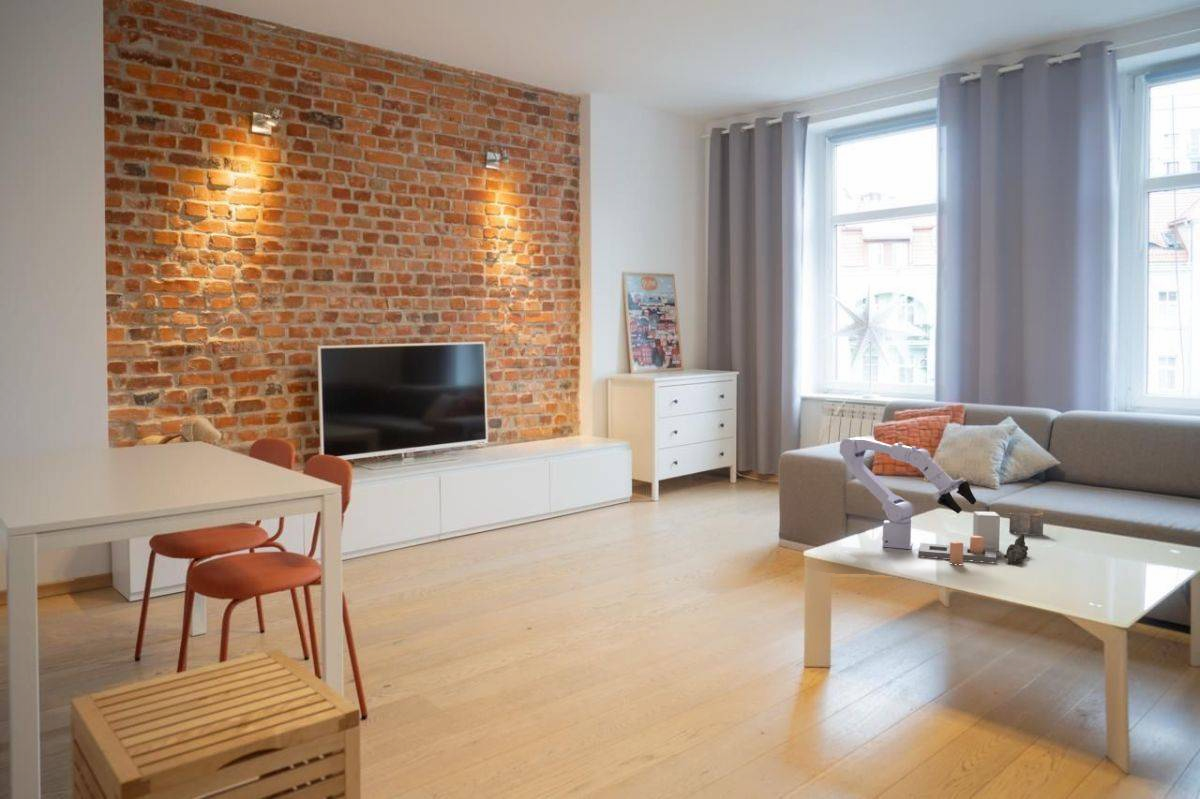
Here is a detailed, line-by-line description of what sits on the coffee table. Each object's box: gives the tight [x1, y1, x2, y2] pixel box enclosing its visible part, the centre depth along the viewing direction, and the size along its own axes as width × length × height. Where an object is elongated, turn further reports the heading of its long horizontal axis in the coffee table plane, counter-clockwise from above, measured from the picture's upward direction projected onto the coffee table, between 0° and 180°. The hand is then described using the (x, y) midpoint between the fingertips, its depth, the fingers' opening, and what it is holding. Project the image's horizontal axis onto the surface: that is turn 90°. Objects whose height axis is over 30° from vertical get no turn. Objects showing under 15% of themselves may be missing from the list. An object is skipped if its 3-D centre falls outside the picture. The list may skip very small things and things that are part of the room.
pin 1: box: [949, 541, 964, 566], centre depth 290 cm, size 4×4×7 cm
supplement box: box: [972, 511, 1001, 552], centre depth 309 cm, size 7×7×13 cm
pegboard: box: [917, 542, 997, 564], centre depth 300 cm, size 24×12×2 cm, turn 67°
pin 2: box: [969, 535, 983, 554], centre depth 297 cm, size 4×4×7 cm
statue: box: [1003, 533, 1029, 565], centre depth 296 cm, size 6×6×20 cm
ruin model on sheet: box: [1008, 509, 1044, 536], centre depth 332 cm, size 11×3×10 cm, turn 63°
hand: (967, 507), depth 296 cm, fingers open, 7 cm apart
